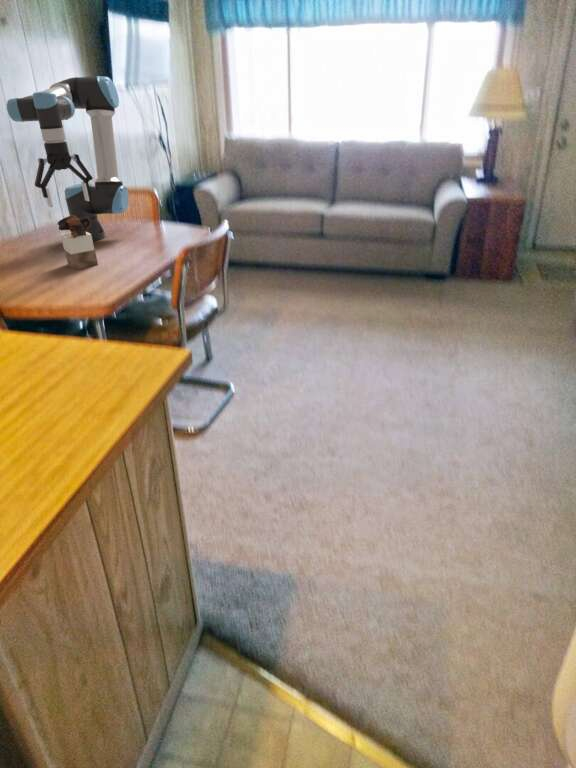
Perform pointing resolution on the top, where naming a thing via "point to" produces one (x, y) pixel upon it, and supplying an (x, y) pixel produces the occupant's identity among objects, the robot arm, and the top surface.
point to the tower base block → (81, 259)
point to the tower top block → (77, 243)
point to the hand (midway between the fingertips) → (69, 203)
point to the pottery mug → (75, 225)
